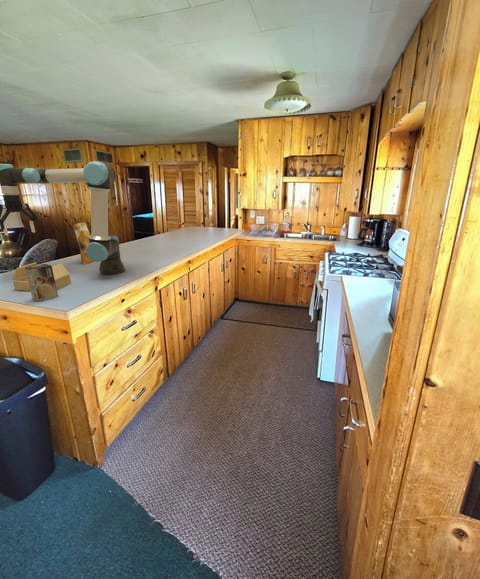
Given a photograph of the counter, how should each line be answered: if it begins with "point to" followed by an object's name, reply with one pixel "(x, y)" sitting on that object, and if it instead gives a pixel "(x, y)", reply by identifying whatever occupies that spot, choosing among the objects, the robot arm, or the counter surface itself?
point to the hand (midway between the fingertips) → (20, 233)
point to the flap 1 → (22, 271)
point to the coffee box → (41, 282)
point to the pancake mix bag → (82, 240)
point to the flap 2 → (59, 271)
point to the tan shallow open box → (24, 285)
